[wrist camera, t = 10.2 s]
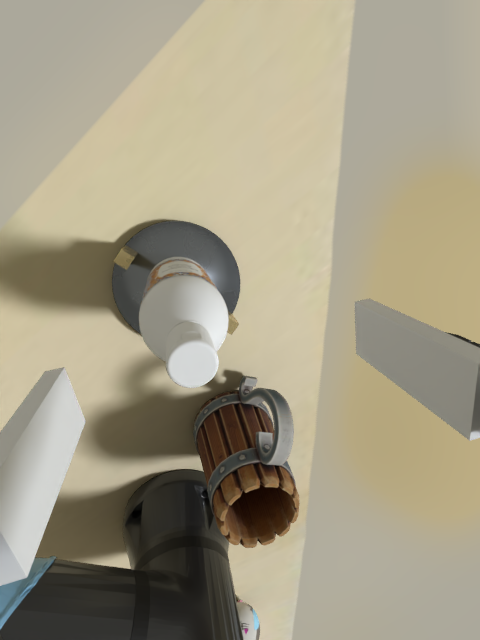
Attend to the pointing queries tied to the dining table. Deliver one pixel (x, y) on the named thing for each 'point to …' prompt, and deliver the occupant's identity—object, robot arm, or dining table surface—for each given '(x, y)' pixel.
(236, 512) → the mug
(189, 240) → the disc
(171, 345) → the bath foam
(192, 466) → the dining table surface
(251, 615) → the figurine
